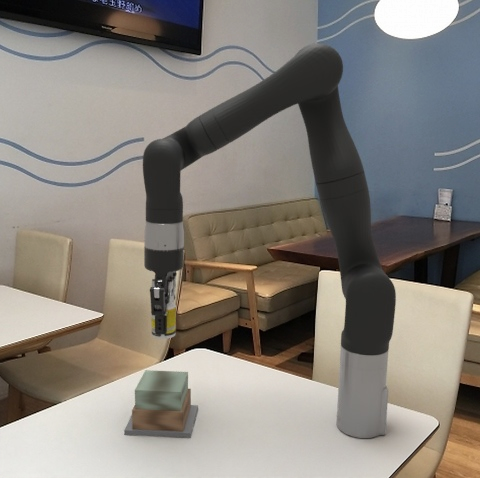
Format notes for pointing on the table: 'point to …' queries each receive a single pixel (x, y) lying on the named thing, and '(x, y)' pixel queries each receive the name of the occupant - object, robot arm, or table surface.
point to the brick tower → (161, 401)
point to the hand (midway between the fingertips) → (163, 328)
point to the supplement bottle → (170, 321)
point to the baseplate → (182, 434)
